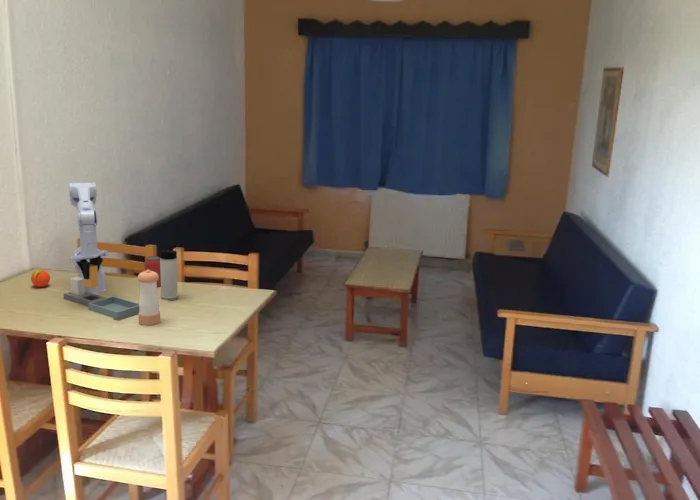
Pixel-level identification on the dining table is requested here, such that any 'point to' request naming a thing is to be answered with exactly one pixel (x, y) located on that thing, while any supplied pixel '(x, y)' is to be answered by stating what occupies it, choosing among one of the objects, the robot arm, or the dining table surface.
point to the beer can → (153, 266)
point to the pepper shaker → (148, 298)
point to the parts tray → (115, 307)
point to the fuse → (77, 286)
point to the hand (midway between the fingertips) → (90, 277)
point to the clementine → (40, 278)
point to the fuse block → (83, 298)
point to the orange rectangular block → (92, 277)
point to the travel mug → (168, 274)
